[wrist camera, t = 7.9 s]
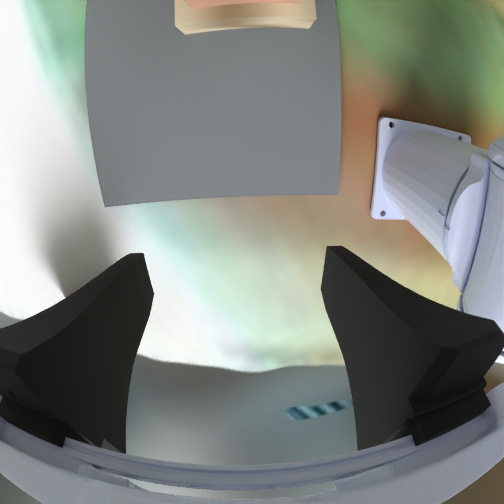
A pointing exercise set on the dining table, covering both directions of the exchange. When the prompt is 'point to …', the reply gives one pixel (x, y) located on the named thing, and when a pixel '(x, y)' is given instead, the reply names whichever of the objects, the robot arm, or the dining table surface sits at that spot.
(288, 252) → the dining table surface
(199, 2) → the middle block
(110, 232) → the dining table surface
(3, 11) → the dining table surface
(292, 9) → the bottom slab
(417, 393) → the robot arm
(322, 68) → the mat
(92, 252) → the dining table surface
